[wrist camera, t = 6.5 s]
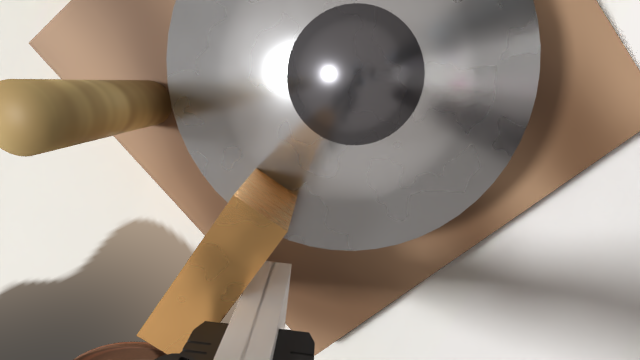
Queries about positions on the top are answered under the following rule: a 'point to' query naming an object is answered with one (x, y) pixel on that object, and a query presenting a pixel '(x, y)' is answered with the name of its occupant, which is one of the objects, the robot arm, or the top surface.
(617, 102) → the walnut base
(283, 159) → the flange plate
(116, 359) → the cup and saucer
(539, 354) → the top surface
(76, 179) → the top surface
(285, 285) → the robot arm
